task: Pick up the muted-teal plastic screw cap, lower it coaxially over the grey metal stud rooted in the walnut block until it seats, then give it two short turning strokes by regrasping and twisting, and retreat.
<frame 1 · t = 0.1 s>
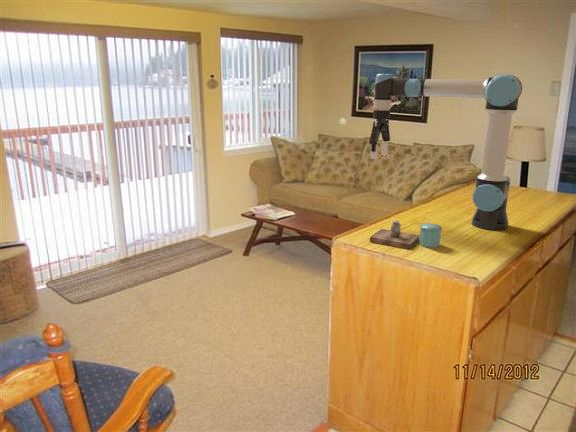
hand: (378, 157, 222), 28 cm above the table, fingers open, 13 cm apart
stud base: (394, 240, 193), on the table
cap: (429, 244, 190), on the table
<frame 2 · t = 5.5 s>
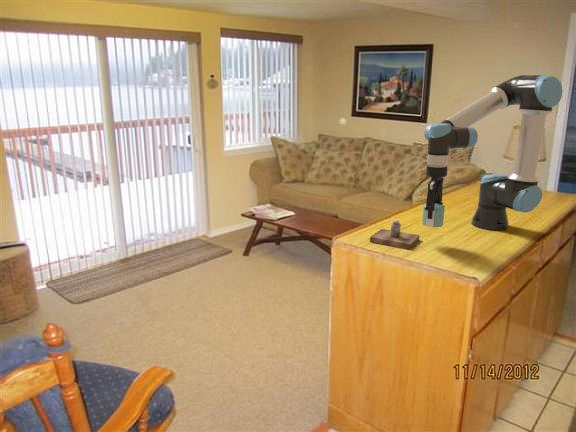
hand: (432, 223, 188), 9 cm above the table, fingers closed on cap, 8 cm apart
cap: (432, 224, 188), point 8 cm above the table, touching gripper
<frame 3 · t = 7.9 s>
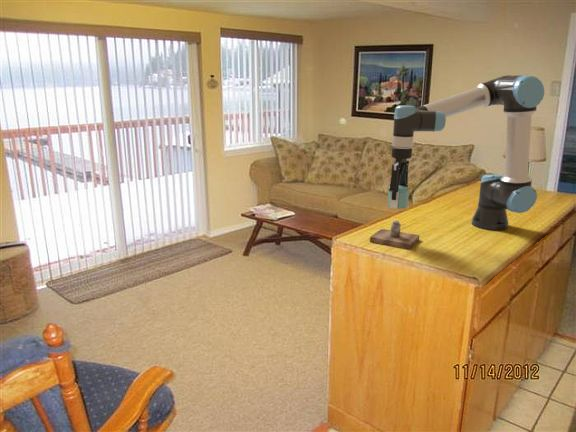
hand: (397, 205, 189), 15 cm above the table, fingers closed on cap, 8 cm apart
cap: (397, 206, 189), point 14 cm above the table, touching gripper
when the fingers open (3 cm above the table, at t = 10.7 s): cap stays where it is, resting on stud base.
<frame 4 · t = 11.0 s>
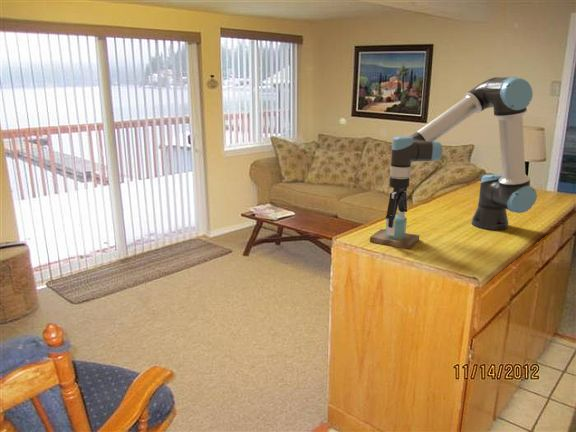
hand: (395, 231, 192), 4 cm above the table, fingers open, 11 cm apart
cap: (395, 236, 193), point 2 cm above the table, touching stud base
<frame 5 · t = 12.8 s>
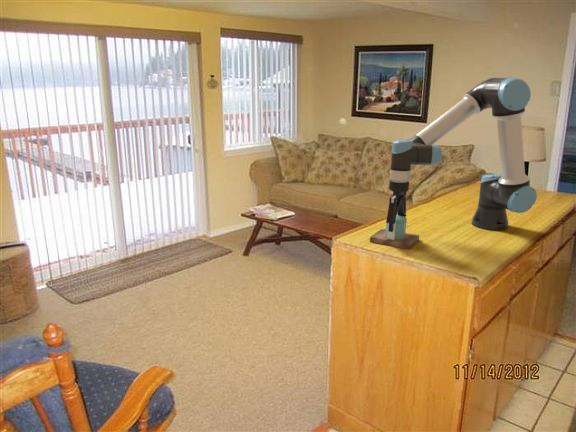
hand: (395, 235, 193), 2 cm above the table, fingers closed on stud base, 10 cm apart
nothing on the table moved.
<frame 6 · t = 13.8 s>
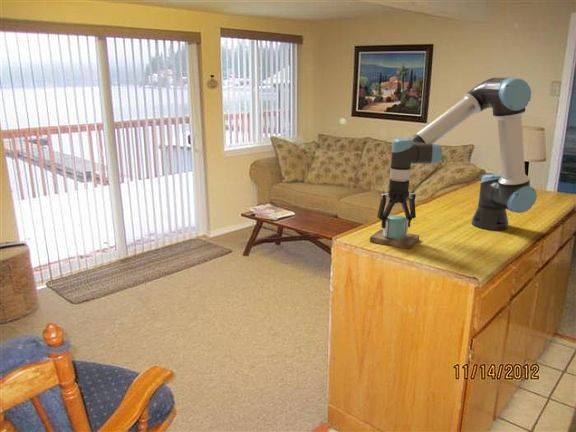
hand: (394, 235, 193), 2 cm above the table, fingers closed on cap, 8 cm apart
cap: (394, 236, 193), point 2 cm above the table, touching gripper
when the fingers open (2 cm above the table, at t = 17.0 s): cap stays where it is, resting on stud base.
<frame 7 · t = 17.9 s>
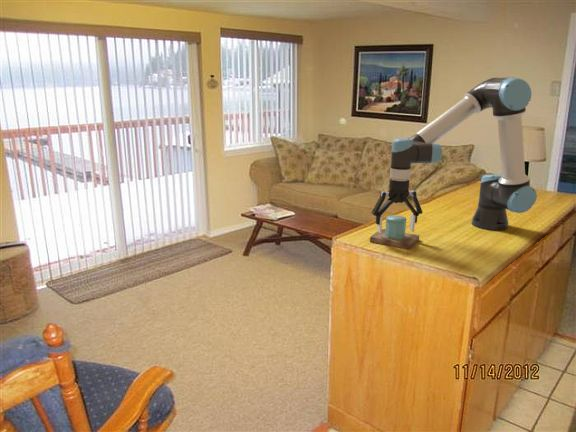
hand: (395, 231, 192), 4 cm above the table, fingers open, 13 cm apart
cap: (394, 236, 193), point 2 cm above the table, touching stud base
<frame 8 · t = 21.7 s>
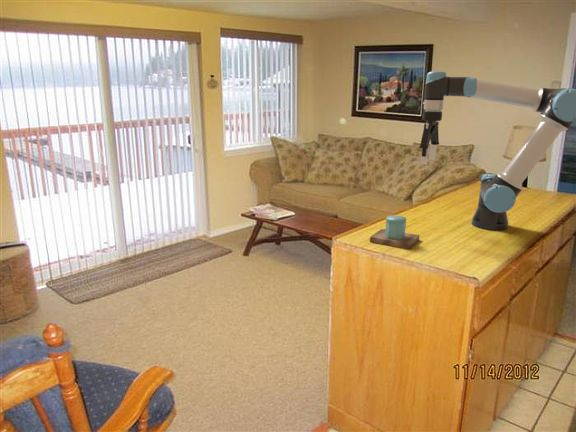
hand: (427, 162, 204), 29 cm above the table, fingers open, 13 cm apart
nothing on the table moved.
at the end: cap 0.1 cm off-centre on the stud base, point 2.0 cm above the stud base's base; cap tilted 0°; the gripper is holding nothing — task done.
